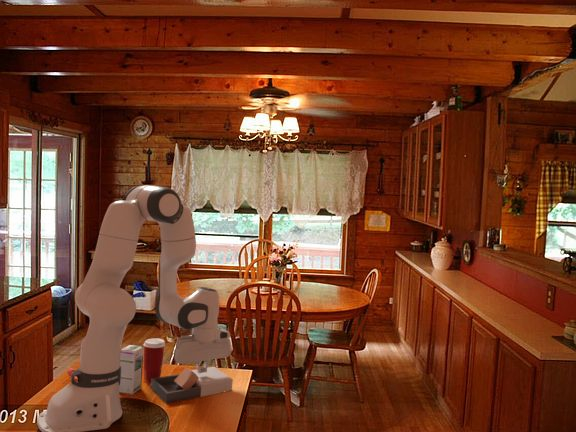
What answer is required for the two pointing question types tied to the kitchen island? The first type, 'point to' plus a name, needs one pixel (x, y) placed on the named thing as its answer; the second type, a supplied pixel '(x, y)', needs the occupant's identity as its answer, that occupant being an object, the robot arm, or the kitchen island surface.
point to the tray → (173, 389)
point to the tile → (186, 379)
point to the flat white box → (213, 381)
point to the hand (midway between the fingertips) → (201, 372)
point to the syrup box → (131, 369)
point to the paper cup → (153, 358)
